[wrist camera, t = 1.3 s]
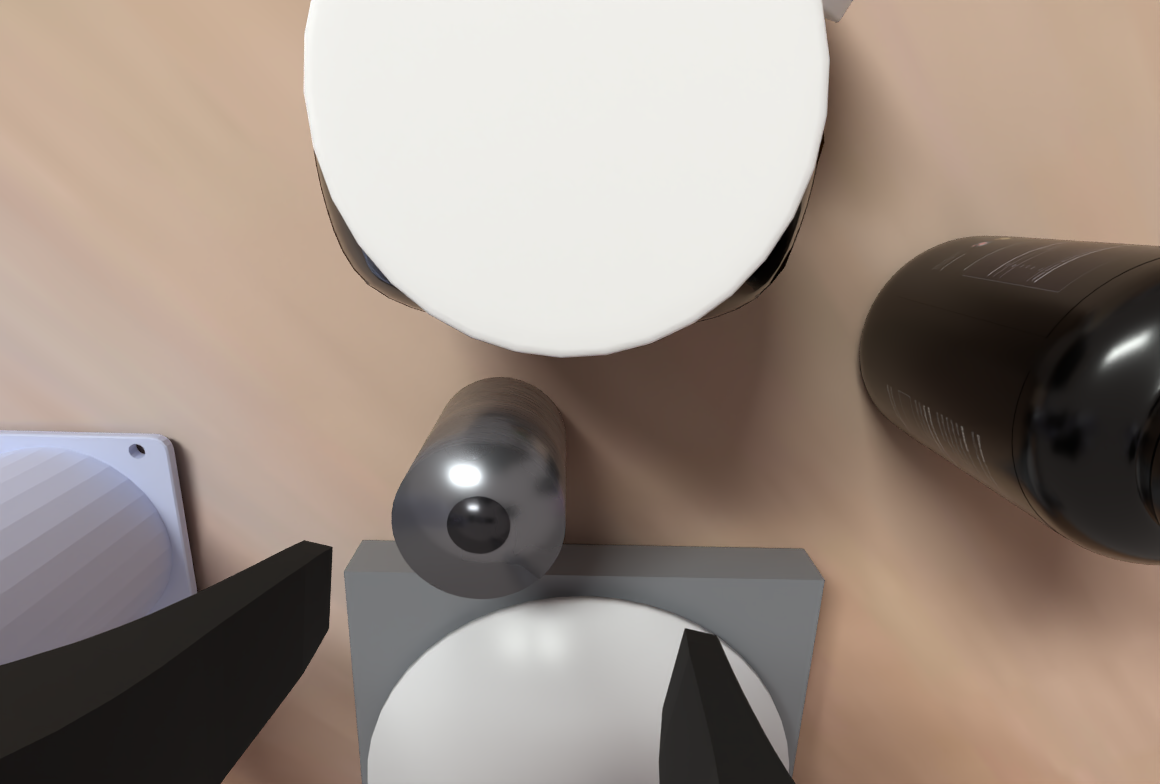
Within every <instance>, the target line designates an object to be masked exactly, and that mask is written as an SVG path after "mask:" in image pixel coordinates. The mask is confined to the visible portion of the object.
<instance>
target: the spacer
mask: <svg viewBox="0 0 1160 784" xmlns="http://www.w3.org/2000/svg"><path fill="white" fill-rule="evenodd" d="M565 525H566V431H565V426H564V422H563V419H562V417H561V415H560V413H559V411H558V409H557V407H556V406H555V404H554V403H553V402H552V401H551V400H550V398H549V397H548V396H547V395H545V394H544V393H543V392H542V391H540V390H539V389H538V388H536V387H534V386H532V385H530V384H528V383H526V382H523V381H521V380H517V379H512V378H504V377H497V378H488V379H483V380H480V381H477V382H474V383H472V384H470V385H468V386H466V387H465V388H463V389H462V390H460V391H459V392H458V393H457V394H456V395H455V396H454V397H453V398H452V399H451V400H450V401H449V403H448V404H447V406H446V407H445V409H444V410H443V412H442V414H441V416H440V417H439V419H438V421H437V423H436V424H435V426H434V428H433V429H432V431H431V433H430V435H429V436H428V438H427V440H426V442H425V443H424V445H423V447H422V448H421V450H420V452H419V454H418V455H417V457H416V459H415V461H414V462H413V464H412V466H411V467H410V469H409V471H408V473H407V474H406V476H405V478H404V480H403V481H402V483H401V485H400V487H399V489H398V491H397V493H396V496H395V499H394V502H393V508H392V529H393V535H394V538H395V542H396V545H397V547H398V549H399V551H400V553H401V555H402V557H403V558H404V560H405V561H406V563H407V564H408V565H409V566H410V568H411V569H412V570H413V571H414V572H415V573H416V574H417V575H418V576H419V577H421V578H422V579H423V580H425V581H426V582H427V583H429V584H430V585H432V586H434V587H435V588H437V589H439V590H442V591H444V592H446V593H449V594H452V595H455V596H459V597H464V598H470V599H493V598H500V597H504V596H508V595H511V594H514V593H516V592H519V591H521V590H523V589H525V588H527V587H529V586H530V585H532V584H533V583H535V582H536V581H537V580H539V579H540V578H541V577H542V576H543V575H544V574H545V573H546V572H547V571H548V570H549V568H550V567H551V566H552V565H553V563H554V562H555V560H556V558H557V557H558V555H559V552H560V550H561V547H562V544H563V540H564V536H565Z"/></svg>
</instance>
